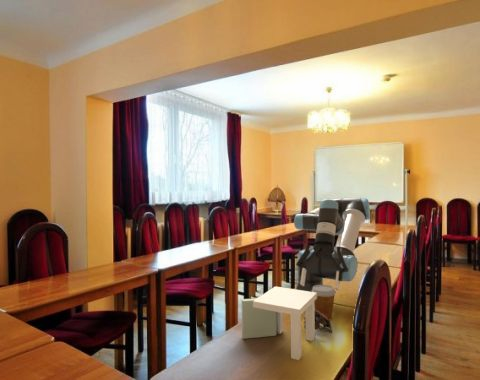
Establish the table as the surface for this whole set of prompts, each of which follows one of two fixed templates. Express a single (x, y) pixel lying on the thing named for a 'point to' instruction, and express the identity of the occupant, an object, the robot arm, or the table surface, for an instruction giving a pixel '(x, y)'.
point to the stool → (291, 312)
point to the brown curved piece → (320, 321)
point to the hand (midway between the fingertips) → (318, 287)
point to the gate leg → (258, 321)
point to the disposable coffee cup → (324, 299)
